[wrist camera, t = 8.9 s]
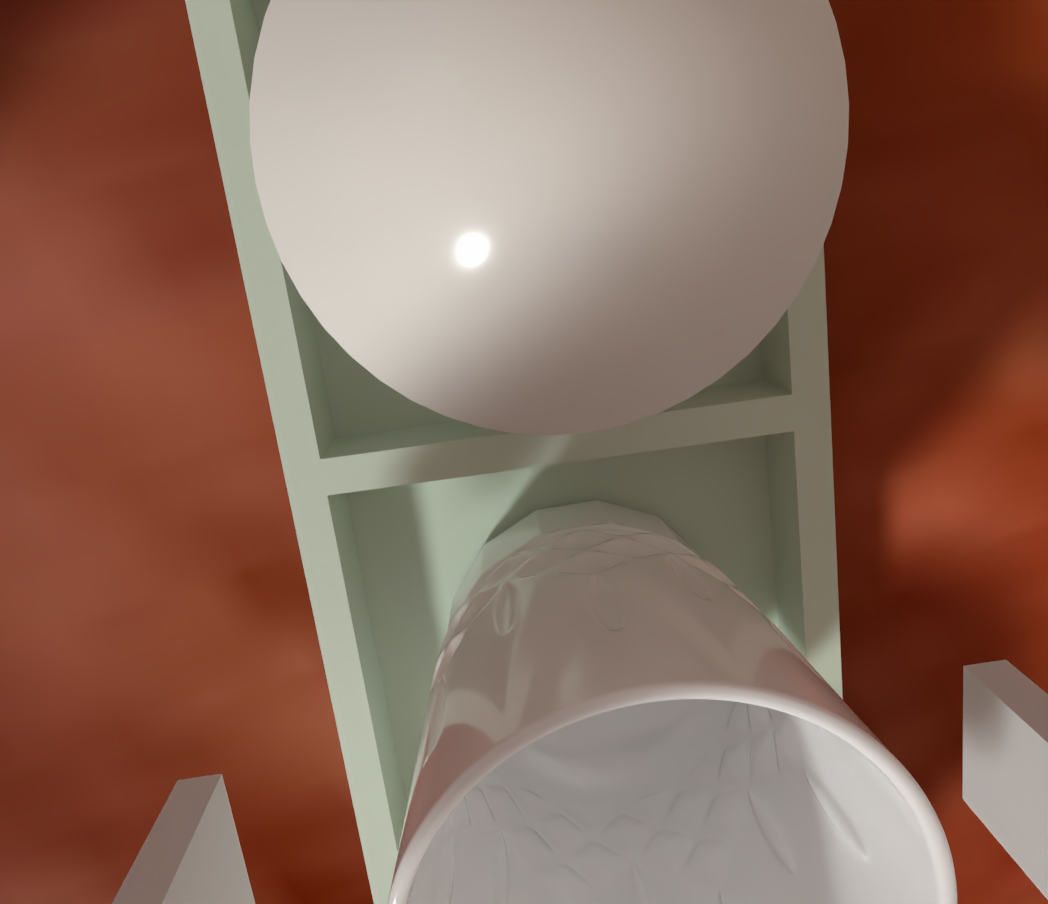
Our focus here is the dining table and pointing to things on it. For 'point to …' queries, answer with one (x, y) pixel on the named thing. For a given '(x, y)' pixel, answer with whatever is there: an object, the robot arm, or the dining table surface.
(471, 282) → the white round cylinder
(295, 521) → the caddy
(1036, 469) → the dining table surface
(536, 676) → the white cup
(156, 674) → the dining table surface
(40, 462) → the dining table surface
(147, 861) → the robot arm
